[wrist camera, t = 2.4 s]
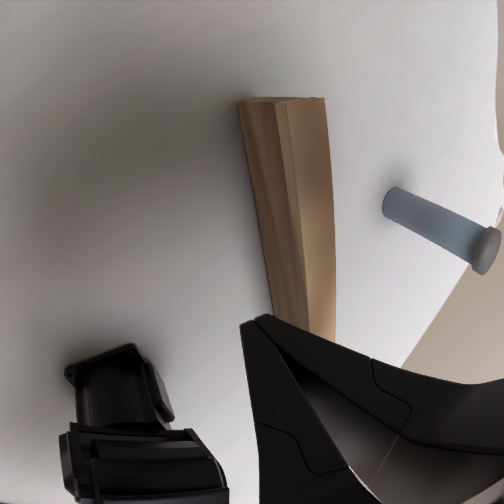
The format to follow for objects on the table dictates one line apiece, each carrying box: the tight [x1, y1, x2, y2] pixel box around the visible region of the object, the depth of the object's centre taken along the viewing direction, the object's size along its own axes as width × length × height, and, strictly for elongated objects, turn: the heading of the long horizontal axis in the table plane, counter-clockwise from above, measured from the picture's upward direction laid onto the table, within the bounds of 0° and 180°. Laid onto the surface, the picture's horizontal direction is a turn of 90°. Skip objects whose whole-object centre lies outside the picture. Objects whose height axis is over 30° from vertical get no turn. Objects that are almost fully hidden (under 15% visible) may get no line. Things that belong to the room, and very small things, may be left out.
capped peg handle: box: [383, 188, 501, 275], centre depth 22 cm, size 4×4×11 cm
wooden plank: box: [237, 97, 336, 343], centre depth 19 cm, size 2×18×6 cm, turn 11°
